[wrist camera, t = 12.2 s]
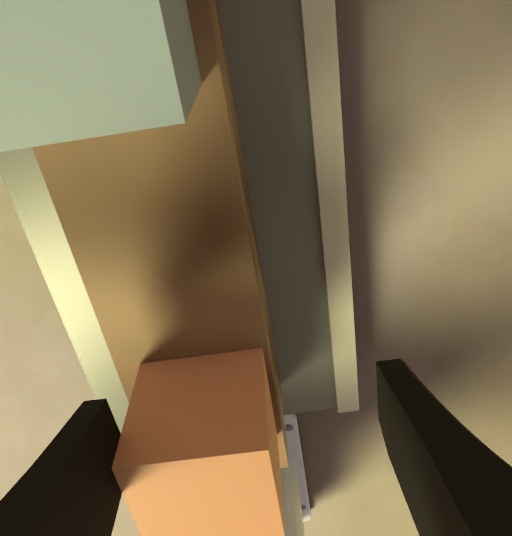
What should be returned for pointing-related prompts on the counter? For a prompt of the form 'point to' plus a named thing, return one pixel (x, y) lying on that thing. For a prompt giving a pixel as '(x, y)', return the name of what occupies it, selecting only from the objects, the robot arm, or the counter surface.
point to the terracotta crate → (202, 448)
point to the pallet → (169, 230)
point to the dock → (262, 203)
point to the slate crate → (93, 69)
